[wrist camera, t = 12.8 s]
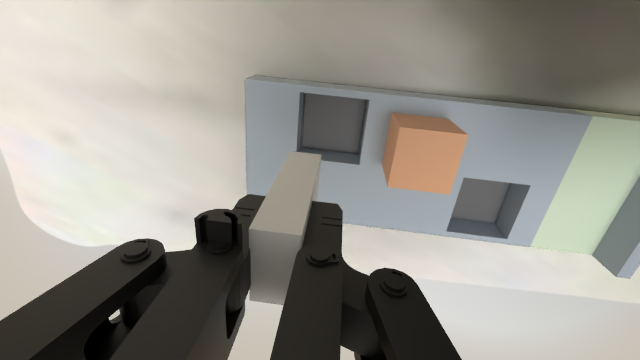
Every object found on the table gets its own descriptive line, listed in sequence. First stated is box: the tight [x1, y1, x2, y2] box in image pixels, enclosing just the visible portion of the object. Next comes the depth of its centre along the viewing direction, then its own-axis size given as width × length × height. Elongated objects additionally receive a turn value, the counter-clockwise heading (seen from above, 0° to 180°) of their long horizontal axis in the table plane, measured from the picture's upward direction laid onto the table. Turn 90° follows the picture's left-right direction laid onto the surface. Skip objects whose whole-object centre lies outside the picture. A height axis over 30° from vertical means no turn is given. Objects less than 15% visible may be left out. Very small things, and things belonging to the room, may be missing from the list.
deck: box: [245, 75, 640, 279], centre depth 23 cm, size 30×11×5 cm, turn 85°
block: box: [382, 113, 468, 195], centre depth 20 cm, size 4×4×4 cm
